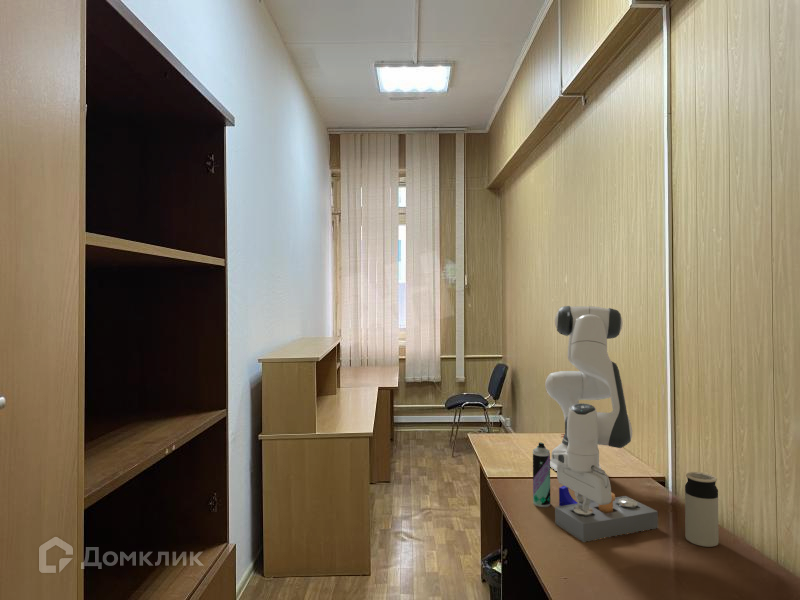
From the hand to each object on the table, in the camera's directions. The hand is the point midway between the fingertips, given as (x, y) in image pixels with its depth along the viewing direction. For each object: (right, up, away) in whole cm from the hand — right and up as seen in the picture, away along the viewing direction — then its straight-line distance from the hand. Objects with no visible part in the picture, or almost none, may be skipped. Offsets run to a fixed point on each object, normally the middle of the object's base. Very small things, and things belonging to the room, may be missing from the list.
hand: (583, 509), depth 156 cm
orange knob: (+8, -3, +3) cm, 9 cm away
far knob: (+15, -6, +5) cm, 17 cm away
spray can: (-7, -6, +20) cm, 22 cm away
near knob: (0, -6, 0) cm, 6 cm away
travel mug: (+30, -6, -8) cm, 32 cm away
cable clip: (+4, -7, +16) cm, 18 cm away
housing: (+8, -6, +3) cm, 10 cm away
